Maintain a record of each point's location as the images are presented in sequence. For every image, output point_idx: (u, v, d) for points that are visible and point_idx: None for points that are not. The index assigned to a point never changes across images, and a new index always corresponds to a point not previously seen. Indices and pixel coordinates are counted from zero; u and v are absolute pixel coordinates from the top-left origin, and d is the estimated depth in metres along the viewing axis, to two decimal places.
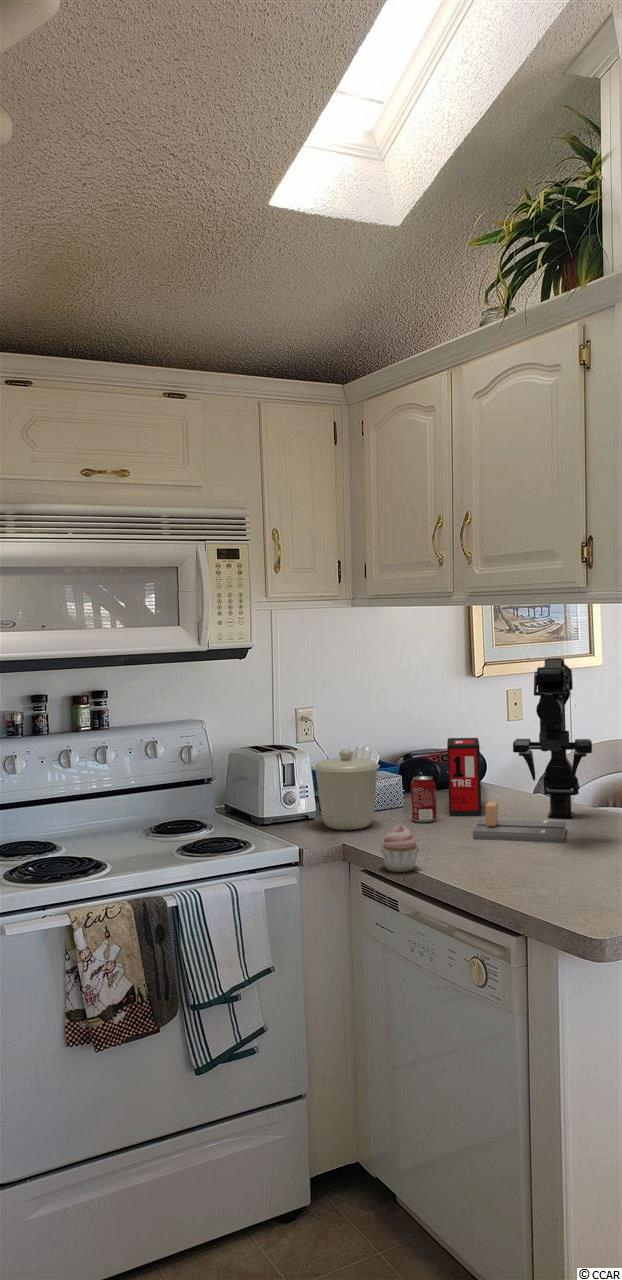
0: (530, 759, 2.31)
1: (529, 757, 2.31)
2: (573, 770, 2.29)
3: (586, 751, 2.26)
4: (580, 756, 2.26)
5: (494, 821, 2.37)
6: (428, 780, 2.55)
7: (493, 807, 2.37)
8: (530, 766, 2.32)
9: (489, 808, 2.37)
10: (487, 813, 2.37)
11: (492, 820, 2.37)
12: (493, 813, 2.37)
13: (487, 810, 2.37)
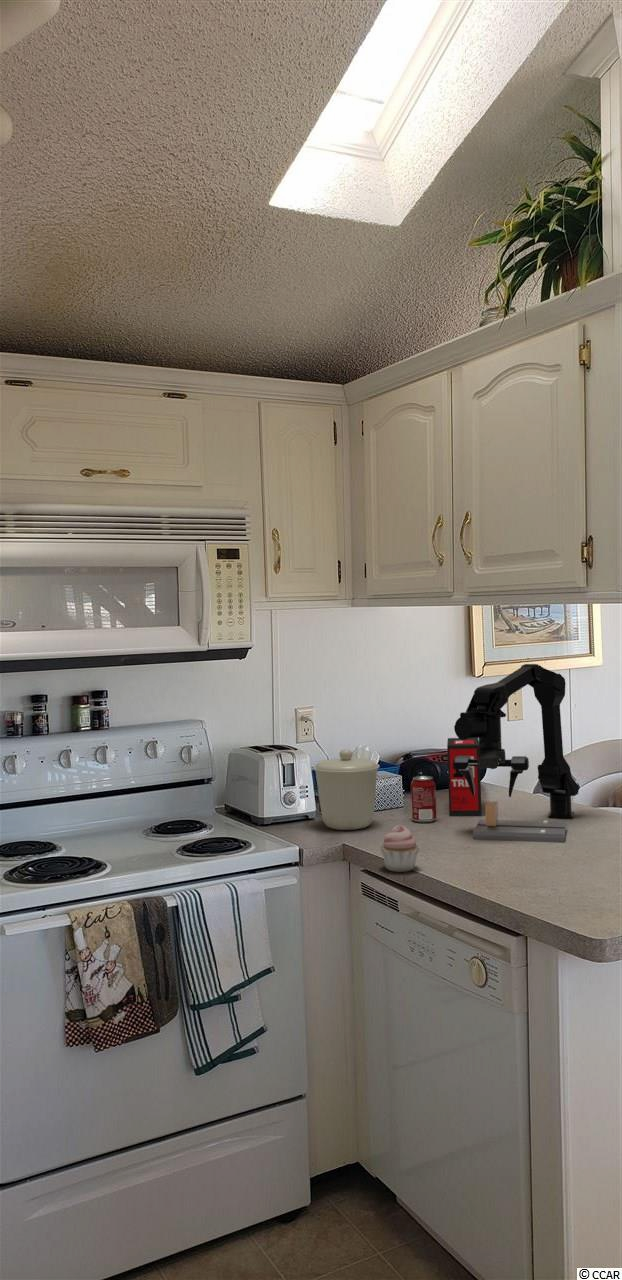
0: (469, 776, 2.40)
1: (468, 774, 2.39)
2: (510, 786, 2.38)
3: (522, 768, 2.35)
4: (516, 773, 2.35)
5: (494, 821, 2.37)
6: (428, 780, 2.55)
7: (493, 807, 2.37)
8: (469, 782, 2.40)
9: (489, 808, 2.37)
10: (487, 813, 2.37)
11: (492, 820, 2.37)
12: (493, 813, 2.37)
13: (487, 810, 2.37)
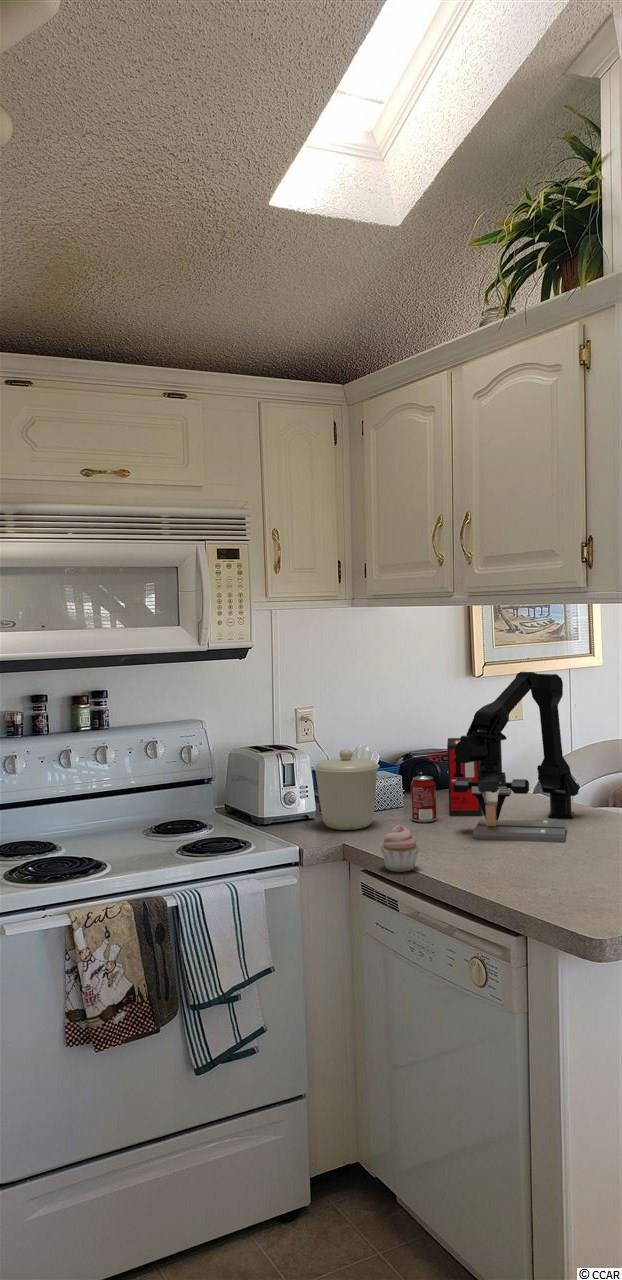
0: (482, 799, 2.39)
1: (481, 797, 2.39)
2: (498, 809, 2.39)
3: (522, 792, 2.35)
4: (504, 796, 2.36)
5: (494, 821, 2.37)
6: (428, 780, 2.55)
7: (493, 807, 2.37)
8: (482, 805, 2.40)
9: (490, 808, 2.37)
10: (487, 813, 2.37)
11: (492, 820, 2.37)
12: (493, 813, 2.37)
13: (487, 810, 2.37)
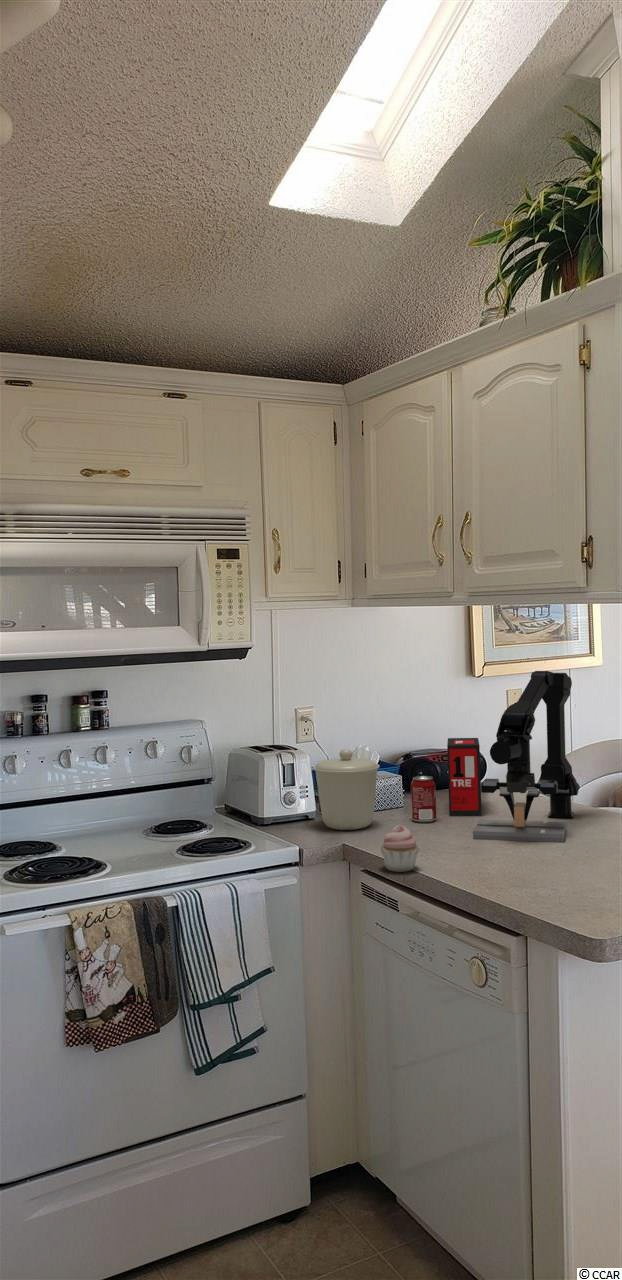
0: (510, 799, 2.37)
1: (509, 798, 2.36)
2: (526, 810, 2.36)
3: (551, 792, 2.32)
4: (532, 797, 2.34)
5: (523, 822, 2.35)
6: (428, 780, 2.55)
7: (522, 808, 2.35)
8: (510, 806, 2.37)
9: (518, 809, 2.35)
10: (515, 814, 2.35)
11: (521, 821, 2.35)
12: (522, 814, 2.35)
13: (515, 811, 2.35)
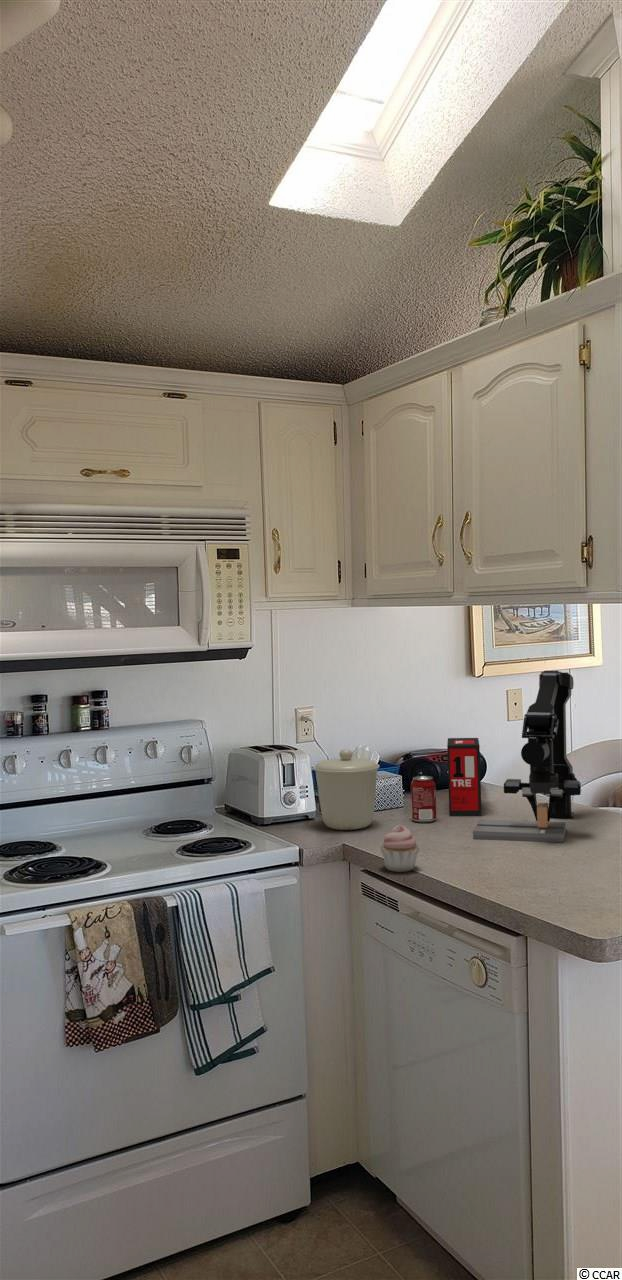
0: (533, 800, 2.35)
1: (532, 798, 2.35)
2: (549, 811, 2.35)
3: (575, 793, 2.31)
4: (556, 797, 2.33)
5: (546, 823, 2.33)
6: (428, 780, 2.55)
7: (545, 808, 2.33)
8: (533, 807, 2.36)
9: (541, 809, 2.33)
10: (539, 815, 2.34)
11: (544, 822, 2.33)
12: (545, 815, 2.33)
13: (539, 811, 2.34)
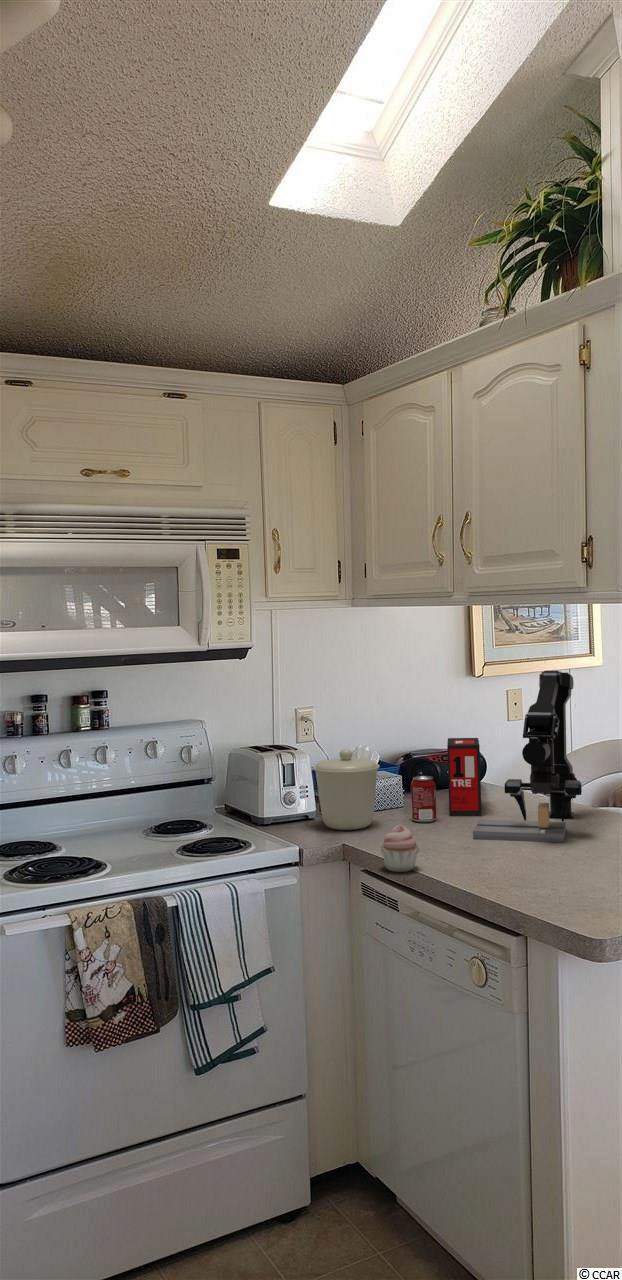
0: (521, 800, 2.36)
1: (520, 798, 2.36)
2: (563, 811, 2.34)
3: (576, 793, 2.31)
4: (570, 798, 2.32)
5: (547, 823, 2.33)
6: (428, 780, 2.55)
7: (546, 808, 2.33)
8: (521, 806, 2.37)
9: (542, 810, 2.33)
10: (539, 815, 2.34)
11: (544, 822, 2.33)
12: (546, 815, 2.33)
13: (539, 812, 2.34)
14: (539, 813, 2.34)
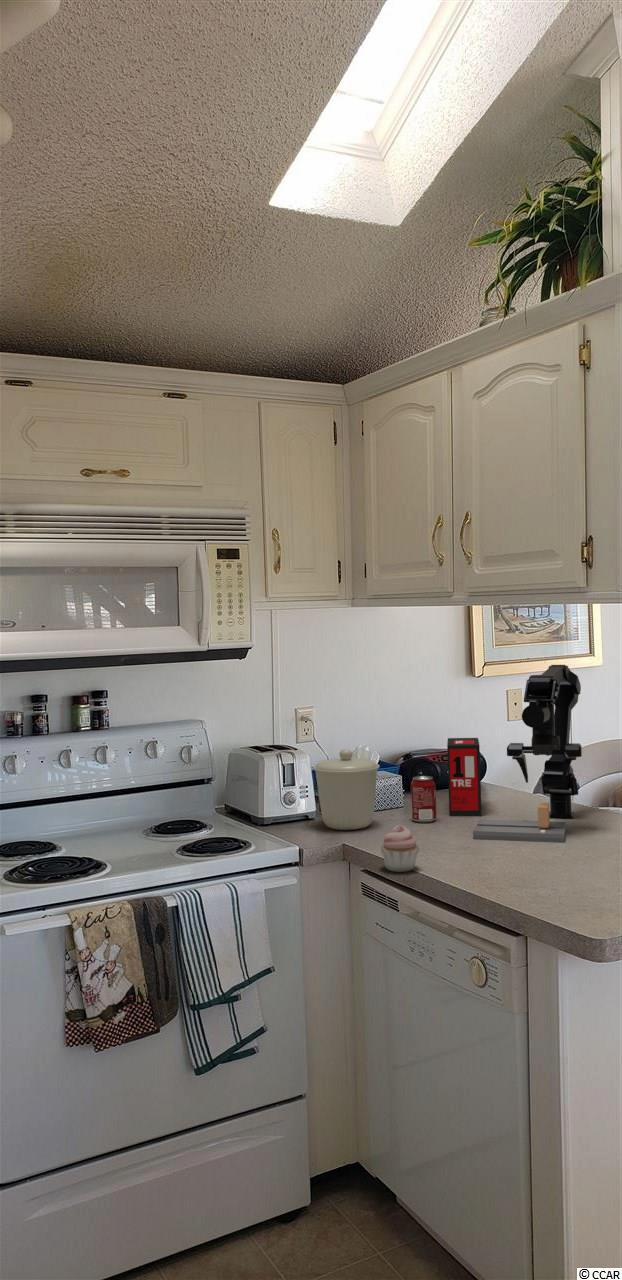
0: (523, 762, 2.43)
1: (522, 760, 2.43)
2: (564, 773, 2.41)
3: (576, 755, 2.38)
4: (570, 760, 2.39)
5: (547, 823, 2.33)
6: (428, 780, 2.55)
7: (546, 808, 2.33)
8: (523, 769, 2.44)
9: (542, 810, 2.33)
10: (539, 815, 2.34)
11: (544, 822, 2.33)
12: (546, 815, 2.33)
13: (539, 812, 2.34)
14: (539, 813, 2.34)
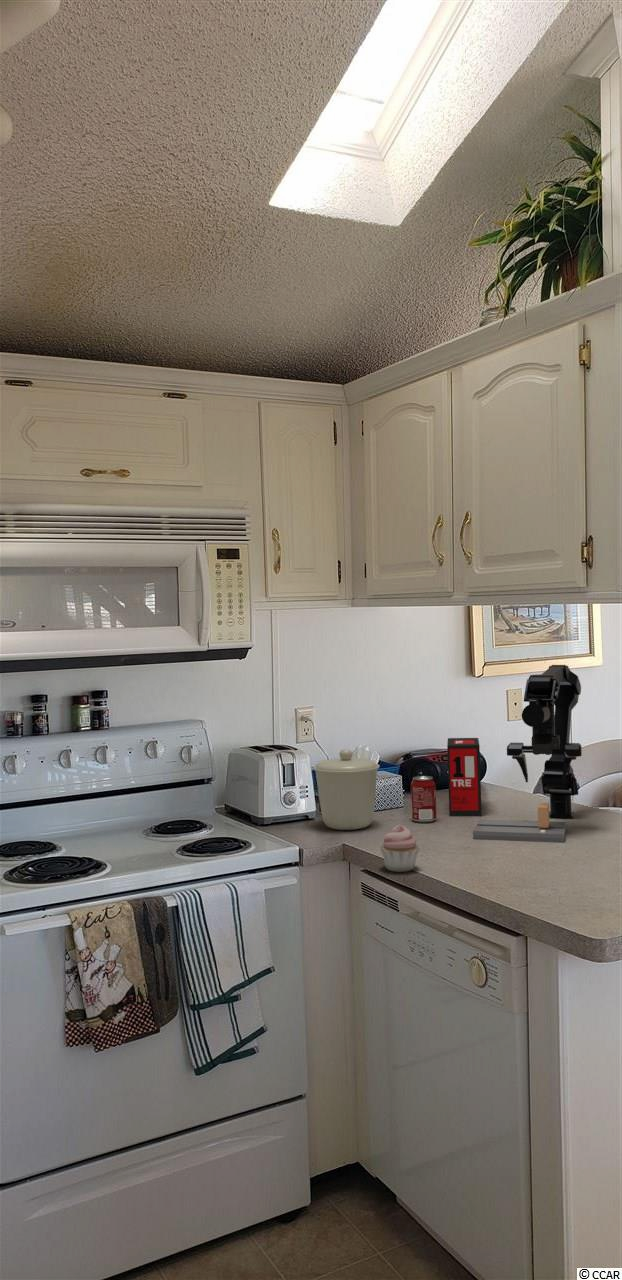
0: (523, 762, 2.44)
1: (522, 760, 2.43)
2: (564, 772, 2.41)
3: (576, 754, 2.38)
4: (570, 759, 2.39)
5: (547, 823, 2.33)
6: (428, 780, 2.55)
7: (546, 808, 2.33)
8: (523, 768, 2.44)
9: (542, 810, 2.33)
10: (539, 815, 2.34)
11: (544, 822, 2.33)
12: (546, 815, 2.33)
13: (539, 812, 2.34)
14: (539, 813, 2.34)
